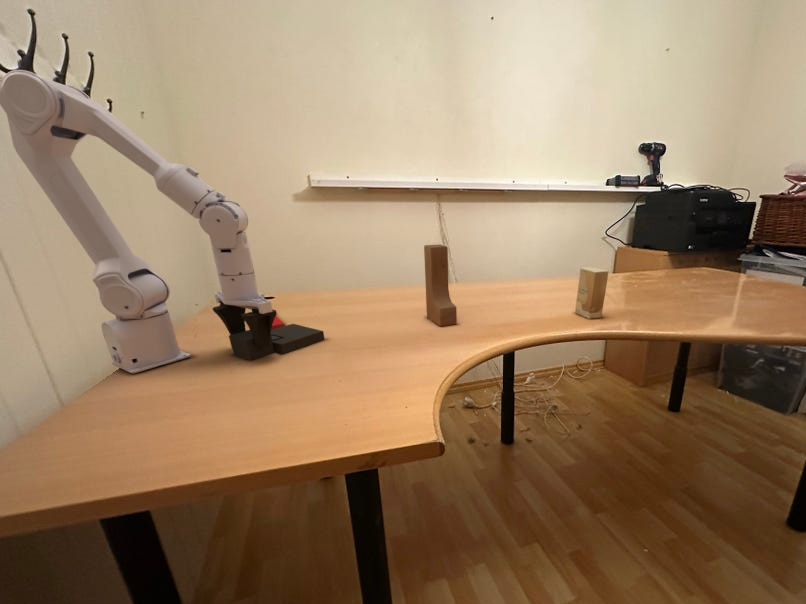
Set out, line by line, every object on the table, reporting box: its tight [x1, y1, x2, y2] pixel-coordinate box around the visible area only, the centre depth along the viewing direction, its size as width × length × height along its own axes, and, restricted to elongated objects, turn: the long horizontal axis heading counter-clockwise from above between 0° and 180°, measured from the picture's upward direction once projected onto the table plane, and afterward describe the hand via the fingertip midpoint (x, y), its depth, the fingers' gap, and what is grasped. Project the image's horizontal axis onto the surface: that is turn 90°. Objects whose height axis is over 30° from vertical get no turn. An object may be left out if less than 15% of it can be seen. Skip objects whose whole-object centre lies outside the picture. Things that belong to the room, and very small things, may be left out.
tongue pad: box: [228, 329, 281, 361], centre depth 79 cm, size 8×6×4 cm
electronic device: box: [271, 315, 286, 330], centre depth 97 cm, size 6×1×15 cm
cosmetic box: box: [574, 266, 609, 320], centre depth 104 cm, size 6×4×12 cm
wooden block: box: [423, 244, 458, 327], centre depth 97 cm, size 9×4×18 cm, turn 28°
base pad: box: [271, 323, 325, 355], centre depth 84 cm, size 10×10×2 cm
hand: (251, 343), depth 78 cm, fingers open, 7 cm apart
